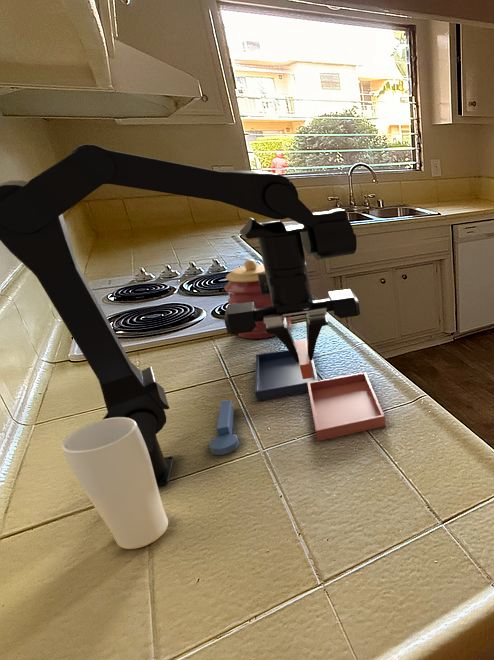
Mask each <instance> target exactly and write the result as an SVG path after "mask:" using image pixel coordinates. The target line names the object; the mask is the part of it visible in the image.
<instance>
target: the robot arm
mask: <svg viewBox="0 0 494 660" xmlns="http://www.w3.org/2000/svg"><path fill="white" fill-rule="evenodd" d="M103 185H114V186H120V187H126V188H133V189H139V190H145V191H152V192H158V193H165V194H169V195H170V194H171V195H175V196H182V197H190V198H195V199H196V198H197V199H202V200H209V201H215V202H221V203H224V204H226V205H230V206H232V207H236V208H239V209H241V210H244V211H248V212H250V213H252V214H253V213H254V214H257V215H259V216H263V217H266V218H270V219H271V220H272V221H264V222H263V221H262V222H259V221H258V220H256V219H255V218H253V217H248V220H247V221H246V224H245V225H243V227H242V228H241V229H240V230H239V234H240V235H241V236H243V237H244V238H246V239H247V240H253V239H257V241H258V246H259V250H260V256H261V260H262V263H263V264H262V265H264V269H265V273H266V274H259V275H258V279H259V285H260V290H261V294H263V295H267V294H270V295H271V300H272V304H273V306H272V307H264V308H257V309H256V308H255V304H254V302H247V303H239V304H232V305H230V304H228V305H227V307H226V308H225V310H224V316H223V321H224V325H225V329H226V333H227V334H228V335H238V334H240V333H246V332H252V331H253V329H254V328H255V327H256V322H258V321H264V324H266V333H267V334H275V335H276V336H275V337H276V338H277V339H278V340H279V341H280V342H281V343H282V344H283V345H284V347H285V348H286V350H289V352H290V353H291V355H292V356H293V357H294V359H295V360H296V362H297V363H299V359H298V351H297V348H296V345H295V343H294V341H295V340H294V337H293V334H292V331H291V328H290V329H289V326H288V323H287V320H286V317H291V318H292V317H299V316H305V326H306V327H305V328H306V339H307V348H308V354H309V358H310V360H314V355H315V351H316V350H315V349H316V345H317V342H318V341H317V340H318V338H319V336H320V333H321V331H322V328H323V327H325V326H328V325H329V320H328V317H327V315H328V312H333V314H334V315H335V316H336V317H338V318H339V319H345V318H346V319H347V318H352V317H358V316H360V315H361V310H360V303H359V299H358V298H357V295H356V294H355V292H354V291H353V290H351V289H350V288H348V289H340V290H333V291H332V290H331V291H327V295H328V296H327V298H323V299H315V300H314V299H313V295H312V289H311V283H310V279H309V278H310V277H309V272H308V267H307V261H306V255H305V252H306V254H308V255H312V256H313V257H314V259H315V260H317V261H320V260H324V259H325V260H327V259H331V258H336V257H343V256H344V257H345V256H350V255H354V254H355V253H356V251H357V247H358V246H357V244H358V242H357V234H356V232H354V228H353V225H352V223H351V221H350V219H349V218H348V214H347V213H348V212H347V211H346V210H345V209H342V208H334V209H331V210H329V211H321V212H320V211H319V212H312V211H311V209H309V208H308V206H306V204H304V202H302V201H301V200H300V198H299V192H298V190H297V187H296V186H295V185H294V183H293V182H292V181H291V179H289V178H288V177H287V176H285V175H281V174H278V173H274V172H271V171H266V170H264V171H263V170H222V169H221V170H219V169H211V168H206V167H201V166H197V165H196V166H195V165H190V164H185V163H180V162H175V161H169V160H164V159H158V158H154V157H148V156H144V155H139V154H133V153H129V152H122V151H117V150H113V149H107V148H105V147H102V146H100V145H97V144H94V143H83V144H80V145H77V146H76V147H75V148H74V149H73V150H72V151H71V153H70V154H69V155H67V156H66V157H64V158H63V159H61V160H59V161H58V162H55V163H54V164H53V165H52V166H50V167H48V168H47V169H45V170H44V171H42V172H40V173H39V174H37V175H36V176H34V177H32V178H31V179H30V180H28V181H26V180H20V179H19V180H8V181H4V182H0V242H1V243H2V244H3V246H5V248H6V249H7V250H8V251H9V252H10V253H11V254H12V255H13V256H14V257H15V258H16V259H18V261H20V262H21V264H23V265H24V266H25V268H27V269H28V270H29V271H30V272H32V274H33V275H34V276H35V277H36V278H37V280H38V282H39V284H40V285H41V287H42V288H43V290H44V292H45V293H46V295H47V297H48V298H49V300H50V302H51V304H52V305H53V307H54V308H55V310H56V312H57V313H58V315H59V317H60V319H61V321H62V322H63V324H64V326H65V327H66V329H67V330H68V331H69V333H70V335H71V337H72V338H73V340H74V342H75V343H76V345H77V347H78V348H79V350H80V353H81V354H82V355H83V357H84V358H85V360H86V362H87V364H88V365H89V367H90V368H91V370H92V372H93V373H94V375H95V377H96V378H97V380H98V383H99V386H100V389H101V393H102V397H103V400H104V404H105V408H106V411H107V412H106V413H105V415H104V416H103V418H102V419H101V420H103V419H107V418H115V417H126V418H130V419H133V420H134V421H135V422H136V423H137V426H138V428H139V430H140V432H141V434H142V436H143V438H144V441H145V443H146V446H147V449H148V452H149V455H150V459H151V463H152V467H153V470H154V474H155V478H156V482H157V486H158V488H162V487H165V486H167V485H169V482H170V478H171V474H172V470H173V467H174V462H175V457H174V456H171V455H170V456H166V457H165V456H164V453H163V451H162V448H161V446H160V443H159V440H158V437H157V434H158V433H159V432H160V431H161V430H163V428H164V426H165V424H166V423H167V416H166V415H167V414H166V411H165V410H169V409H170V405H169V401H168V399H167V398H168V397H167V395H166V392H165V389H164V387H163V386H161V384H159V383H158V382H157V380H156V377H155V373H154V370H153V367H152V366H149V367H146V368H145V369H142V370H140V369H139V368H138V367H137V365H135V364H134V363H133V362H132V361H131V359H130V358H129V356H128V354H127V352H126V351H125V349H124V347H123V345H122V343H121V341H120V339H119V338H118V335H117V334H116V332H115V330H114V328H113V327H112V324H111V323H110V321H109V319H108V317H107V315H106V314H105V312H104V310H103V308H102V306H101V304H100V303H99V301H98V299H97V297H96V295H95V293H94V292H93V290H92V288H91V286H90V284H89V283H88V281H87V279H86V277H85V275H84V274H83V271H82V270H81V268H80V266H79V264H78V263H77V259H76V257H75V252H74V249H73V245H72V241H71V238H70V234H69V231H68V227H67V224H66V221H65V218H64V213H66V212H67V211H69V210H70V209H72V208H73V207H74V206H76V205H78V203H80V202H81V201H82V200H84V199H85V198H87V197H88V196H89V195H90V194H91V193H93V192H94V191H95V190H97V189H99V188H100V187H102V186H103ZM286 219H288V220H291V221H293V222H295V223H298V224H295V225H285V224H284V223H283V221H281V220H286ZM273 220H274V221H273ZM304 250H305V251H304Z"/></svg>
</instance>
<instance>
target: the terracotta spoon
mask: <svg viewBox="0 0 494 660" xmlns="http://www.w3.org/2000/svg"><path fill="white" fill-rule="evenodd" d="M294 343H295V345H296V348H297V351H298V359H299V364H300V369H301V374H302V379H307V378H312V377H313V372H312V367H311V362H310V358H309V354H308V348H307V338H306V339H298V340H294Z"/></svg>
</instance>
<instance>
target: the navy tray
mask: <svg viewBox="0 0 494 660" xmlns="http://www.w3.org/2000/svg"><path fill="white" fill-rule="evenodd" d="M310 362H311V367H312V372H313V377H312V378H307V379H302V374H301V369H300V364H299V363H297V362H296V360H295V359H294V357H293V356H292V355H291V353H290V352H289V350H288V349H284V350H278V351H277V350H276V351H271V352H264V353H258V354H255V372H254V373H255V374H254V375H255V376H254V394H255V398H256V401H257V402H261V401H266V400H271V399H277V398H283V397H288V396H293V395H299V394H304V393H309V391H308V385H307V383H308V382H314V381H319V379H318V374H317V370H316V369H317V368H316V365H315V361H314V359H313V360H310Z"/></svg>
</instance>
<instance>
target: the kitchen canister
mask: <svg viewBox="0 0 494 660" xmlns="http://www.w3.org/2000/svg"><path fill="white" fill-rule="evenodd" d="M259 274H266V273H265V269H264V264H257V262H256V260H254V259H251V258H249V259H246V260H245V261H244V264H243V266H238V267H235V268H233V269H231V271H230V272H229V273H228V274H226V276H225V279H226V280H227V281H228V282H227V283H225V285H224V286H223V287H224V290H225V291H226V292H227V293H228V299H227V303H228V305H232V304H239V303H247V302H254V304H255V308H256V309H257V308H264V307H272V306H273V304H272V300H271V295H270V294H267V295H263V294H261V290H260V285H259V279H258V275H259ZM286 320H287V323H288V326H289V329H290V330H291V327H292V317H286ZM237 335H238V337H241V338H243V339H249V340H250V339H251V340H259V339H260V340H261V339H267V338H272V337H277V336H276V335H275V334H267V333H266V324H264V321H258V322H256V327H255V328H254V329H253V331H252V332H246V333H240V334H237Z"/></svg>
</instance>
